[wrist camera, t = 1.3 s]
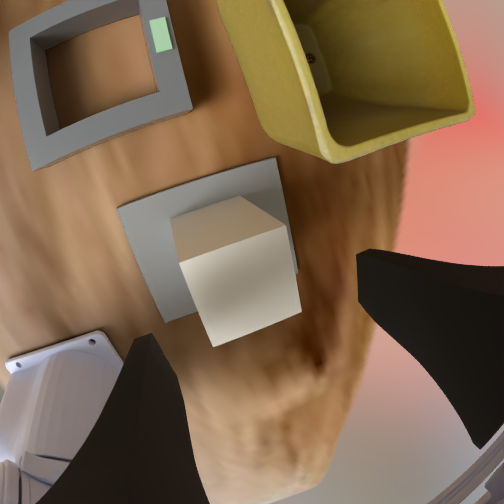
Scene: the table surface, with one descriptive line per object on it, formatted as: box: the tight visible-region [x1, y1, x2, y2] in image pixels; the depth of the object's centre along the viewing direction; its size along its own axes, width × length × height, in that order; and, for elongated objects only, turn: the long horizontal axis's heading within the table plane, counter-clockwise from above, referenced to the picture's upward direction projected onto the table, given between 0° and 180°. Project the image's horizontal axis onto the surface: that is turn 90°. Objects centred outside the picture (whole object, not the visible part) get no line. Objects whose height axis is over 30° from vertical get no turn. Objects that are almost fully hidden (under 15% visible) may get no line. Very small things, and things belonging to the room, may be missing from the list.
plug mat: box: [116, 157, 298, 323], centre depth 17 cm, size 9×8×1 cm
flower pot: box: [217, 0, 475, 164], centre depth 10 cm, size 9×9×9 cm
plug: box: [169, 196, 302, 347], centre depth 14 cm, size 4×4×6 cm
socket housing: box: [9, 0, 193, 172], centre depth 10 cm, size 8×8×3 cm
